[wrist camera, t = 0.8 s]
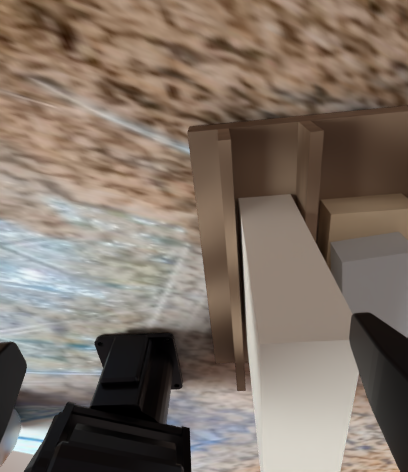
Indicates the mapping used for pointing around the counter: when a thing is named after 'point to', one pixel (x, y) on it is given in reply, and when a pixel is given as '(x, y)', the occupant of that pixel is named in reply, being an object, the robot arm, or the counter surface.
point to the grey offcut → (374, 276)
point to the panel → (294, 340)
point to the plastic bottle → (10, 436)
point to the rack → (283, 190)
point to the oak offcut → (360, 219)
